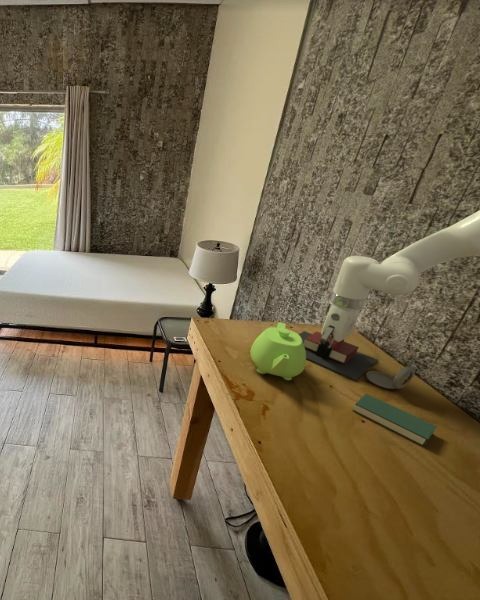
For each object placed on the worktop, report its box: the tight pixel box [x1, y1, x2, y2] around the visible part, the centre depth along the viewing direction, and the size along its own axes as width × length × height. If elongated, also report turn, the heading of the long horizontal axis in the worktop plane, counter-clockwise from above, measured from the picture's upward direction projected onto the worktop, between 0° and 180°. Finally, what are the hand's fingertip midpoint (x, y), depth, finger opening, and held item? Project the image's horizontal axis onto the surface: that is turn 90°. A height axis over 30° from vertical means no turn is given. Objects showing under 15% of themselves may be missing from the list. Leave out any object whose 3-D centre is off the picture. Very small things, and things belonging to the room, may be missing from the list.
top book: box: [304, 331, 359, 364], centre depth 95 cm, size 11×7×3 cm
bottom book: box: [352, 393, 438, 448], centre depth 72 cm, size 12×6×2 cm, turn 33°
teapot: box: [249, 321, 307, 381], centre depth 88 cm, size 20×13×13 cm
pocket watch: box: [365, 358, 418, 390], centre depth 82 cm, size 8×8×10 cm
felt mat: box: [298, 330, 379, 382], centre depth 97 cm, size 20×16×1 cm
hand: (327, 352), depth 96 cm, fingers closed on top book, 7 cm apart
